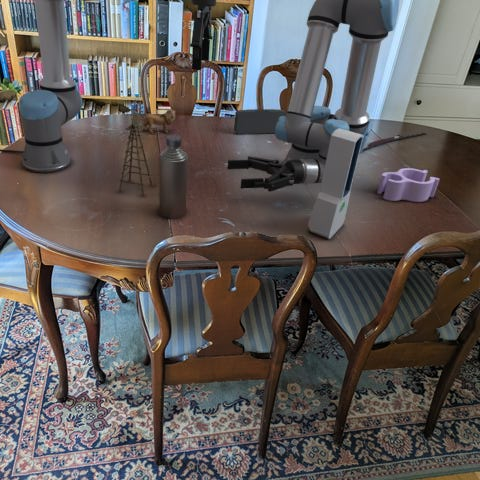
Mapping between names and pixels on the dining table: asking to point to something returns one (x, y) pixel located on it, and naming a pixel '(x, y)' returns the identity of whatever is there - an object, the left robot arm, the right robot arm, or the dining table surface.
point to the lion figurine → (160, 120)
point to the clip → (407, 185)
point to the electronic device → (336, 183)
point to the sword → (386, 139)
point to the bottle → (173, 182)
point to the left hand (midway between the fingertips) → (200, 65)
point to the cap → (173, 141)
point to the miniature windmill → (134, 129)
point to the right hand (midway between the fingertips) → (234, 173)
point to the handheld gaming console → (257, 120)
